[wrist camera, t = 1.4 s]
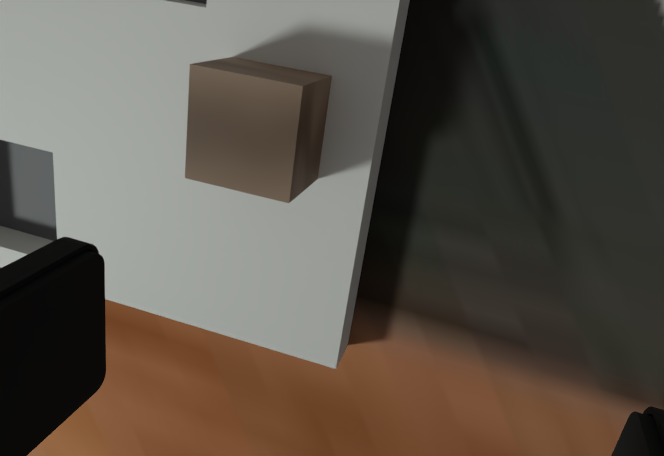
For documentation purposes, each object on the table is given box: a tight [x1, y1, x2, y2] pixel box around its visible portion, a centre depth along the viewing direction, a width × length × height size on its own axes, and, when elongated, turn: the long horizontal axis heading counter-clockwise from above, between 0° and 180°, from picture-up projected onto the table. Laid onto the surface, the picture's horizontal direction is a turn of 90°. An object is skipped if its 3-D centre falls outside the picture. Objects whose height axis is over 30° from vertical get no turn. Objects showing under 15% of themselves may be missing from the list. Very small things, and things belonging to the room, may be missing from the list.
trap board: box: [0, 0, 410, 369], centre depth 31 cm, size 26×30×4 cm
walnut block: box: [185, 57, 332, 203], centre depth 26 cm, size 5×5×4 cm
